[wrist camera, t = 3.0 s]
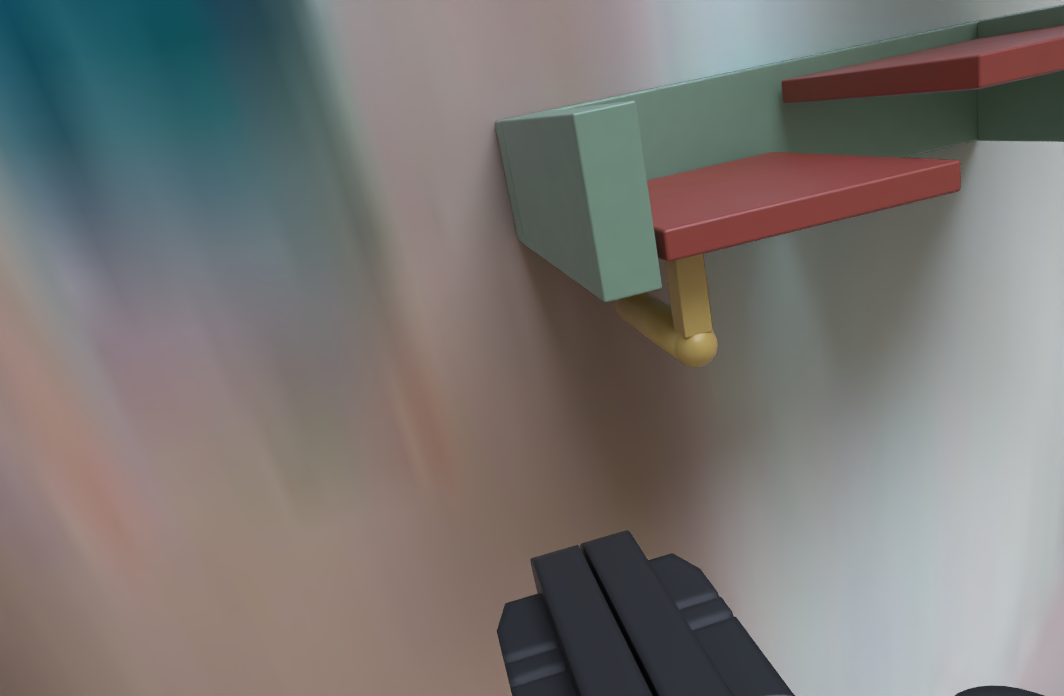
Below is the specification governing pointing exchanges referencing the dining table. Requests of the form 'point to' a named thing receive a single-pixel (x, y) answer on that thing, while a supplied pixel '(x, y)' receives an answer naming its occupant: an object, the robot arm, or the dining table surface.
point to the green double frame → (769, 131)
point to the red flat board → (759, 223)
